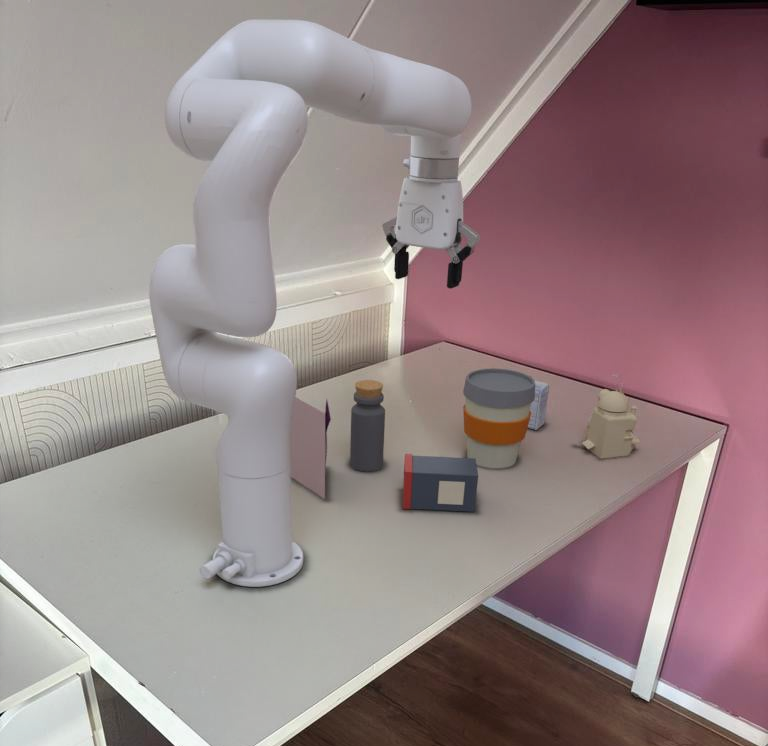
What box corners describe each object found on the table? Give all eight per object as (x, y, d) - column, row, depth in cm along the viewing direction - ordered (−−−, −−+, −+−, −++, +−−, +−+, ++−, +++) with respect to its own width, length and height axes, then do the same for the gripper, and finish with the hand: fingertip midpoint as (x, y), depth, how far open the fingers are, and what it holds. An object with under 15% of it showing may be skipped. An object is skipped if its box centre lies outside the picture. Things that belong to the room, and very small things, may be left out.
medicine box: (544, 424, 162) (550, 383, 158) (536, 431, 159) (541, 389, 155) (509, 415, 166) (513, 375, 162) (499, 421, 163) (504, 381, 158)
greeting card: (330, 499, 131) (330, 413, 123) (284, 499, 130) (282, 413, 123) (329, 468, 141) (330, 387, 133) (287, 468, 140) (285, 386, 133)
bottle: (379, 473, 140) (382, 392, 132) (346, 469, 141) (348, 388, 133) (385, 459, 145) (389, 380, 138) (354, 456, 146) (355, 377, 138)
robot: (617, 437, 158) (631, 363, 151) (641, 454, 151) (657, 378, 144) (570, 442, 155) (583, 367, 148) (593, 459, 148) (607, 382, 141)
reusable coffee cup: (493, 438, 155) (501, 363, 148) (540, 462, 146) (552, 384, 139) (443, 453, 148) (449, 375, 141) (489, 479, 140) (499, 397, 132)
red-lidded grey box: (471, 493, 134) (475, 457, 131) (474, 512, 128) (478, 475, 125) (403, 489, 134) (405, 453, 131) (402, 509, 128) (404, 471, 125)
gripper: (373, 166, 125) (370, 278, 133) (473, 177, 117) (463, 295, 126) (398, 163, 131) (393, 270, 139) (495, 173, 123) (484, 286, 131)
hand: (426, 282), depth 132 cm, fingers open, 9 cm apart
